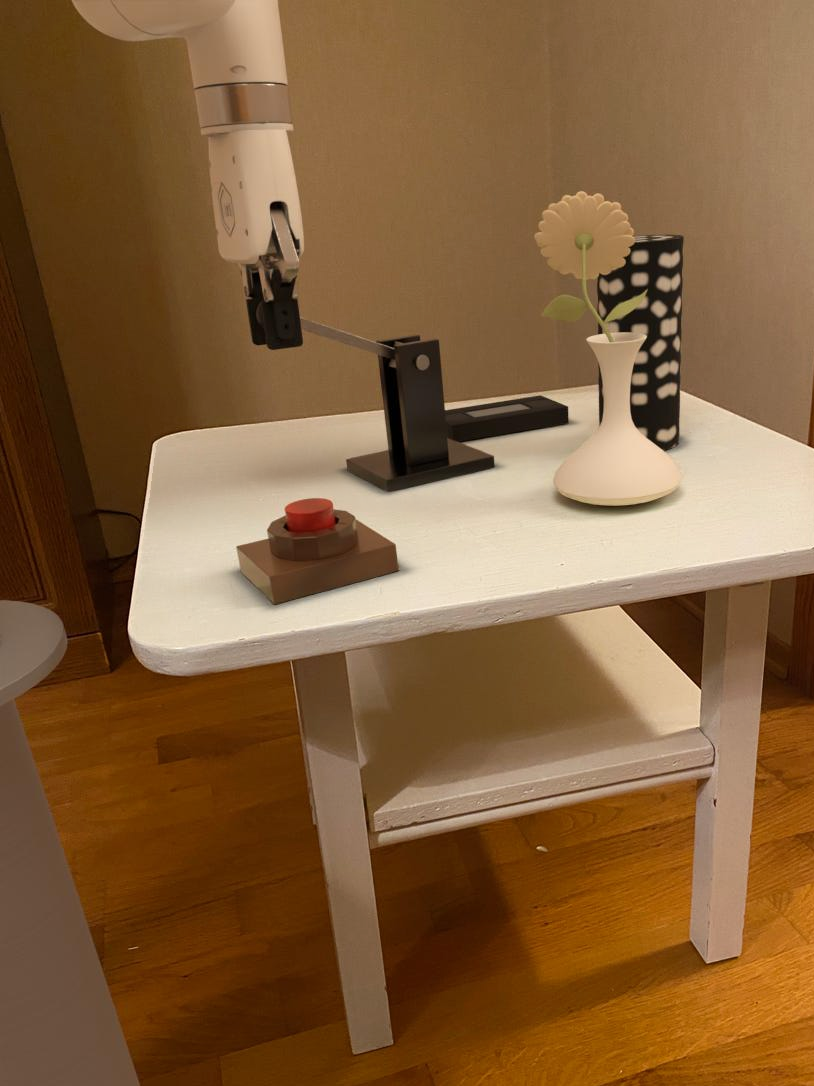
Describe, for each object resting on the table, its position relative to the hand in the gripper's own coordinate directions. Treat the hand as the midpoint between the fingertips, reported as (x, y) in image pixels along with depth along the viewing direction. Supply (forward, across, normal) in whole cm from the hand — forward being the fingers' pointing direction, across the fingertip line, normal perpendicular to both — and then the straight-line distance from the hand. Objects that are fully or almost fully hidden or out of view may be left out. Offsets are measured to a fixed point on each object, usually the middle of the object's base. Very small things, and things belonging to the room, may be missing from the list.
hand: (277, 343), depth 87 cm
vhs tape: (+14, -9, +28) cm, 33 cm away
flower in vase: (+14, +20, +22) cm, 33 cm away
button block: (+15, +20, -6) cm, 25 cm away
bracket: (+14, 0, +13) cm, 19 cm away
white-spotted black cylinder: (+14, +8, +35) cm, 39 cm away
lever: (+2, 0, +6) cm, 6 cm away
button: (+11, +20, -6) cm, 23 cm away
